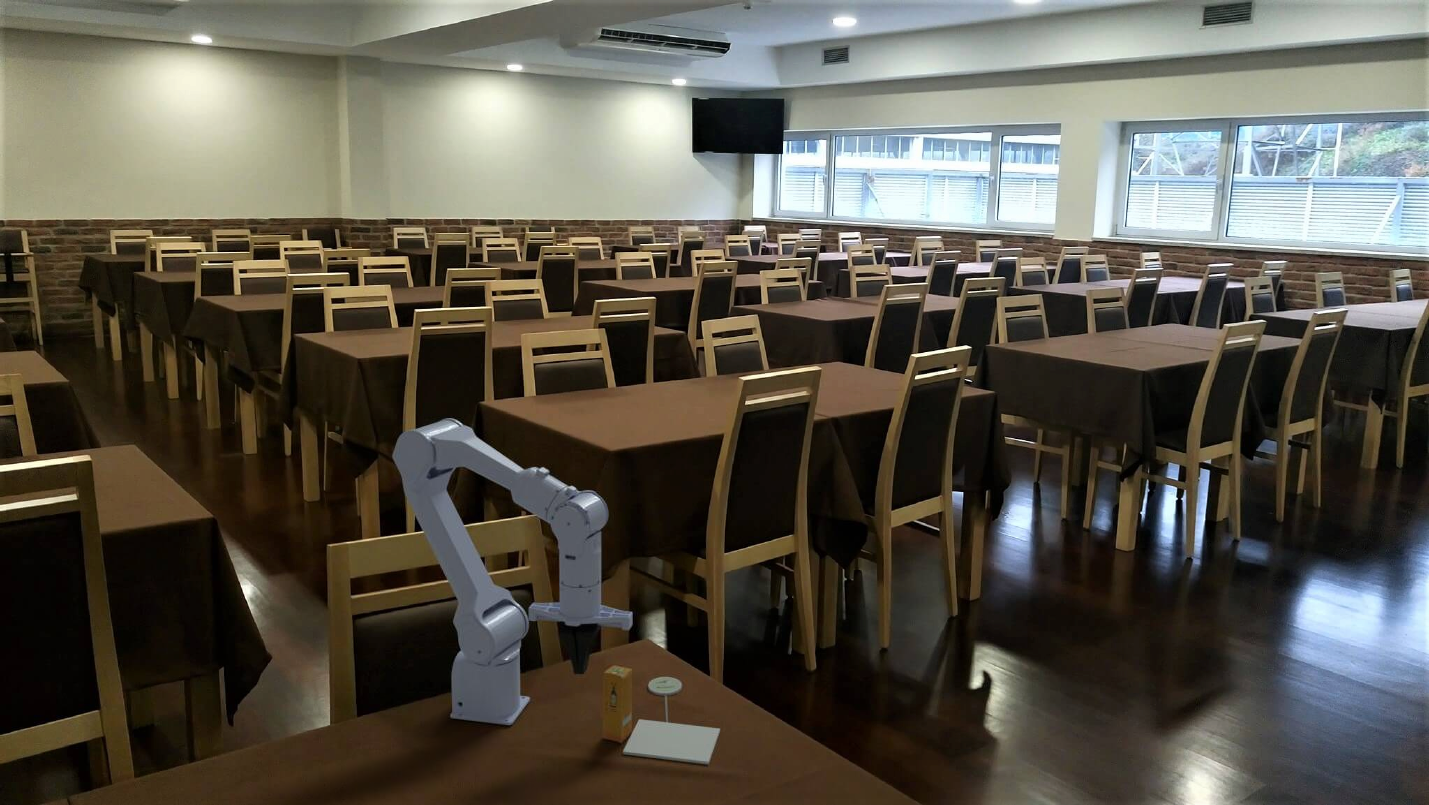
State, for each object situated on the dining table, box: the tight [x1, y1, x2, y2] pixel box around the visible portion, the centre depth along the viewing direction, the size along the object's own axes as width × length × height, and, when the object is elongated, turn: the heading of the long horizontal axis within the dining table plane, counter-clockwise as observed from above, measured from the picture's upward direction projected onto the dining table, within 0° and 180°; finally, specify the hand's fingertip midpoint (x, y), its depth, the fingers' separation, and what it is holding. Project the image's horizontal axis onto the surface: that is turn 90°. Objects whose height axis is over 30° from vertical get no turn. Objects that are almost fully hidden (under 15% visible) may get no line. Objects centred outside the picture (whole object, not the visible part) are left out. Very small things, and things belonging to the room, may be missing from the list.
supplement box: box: [602, 665, 633, 744], centre depth 147 cm, size 3×3×10 cm
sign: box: [648, 676, 683, 723], centre depth 158 cm, size 5×1×15 cm
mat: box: [622, 719, 721, 765], centre depth 147 cm, size 12×9×1 cm
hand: (580, 671), depth 147 cm, fingers closed
